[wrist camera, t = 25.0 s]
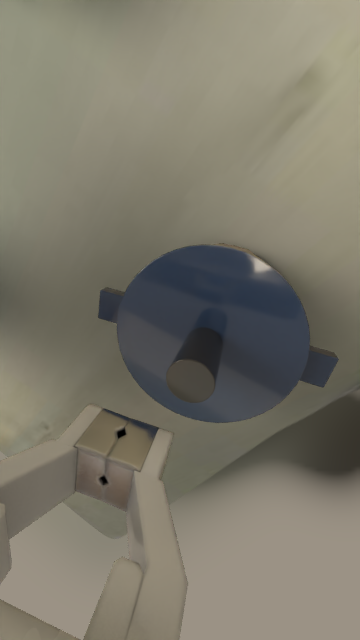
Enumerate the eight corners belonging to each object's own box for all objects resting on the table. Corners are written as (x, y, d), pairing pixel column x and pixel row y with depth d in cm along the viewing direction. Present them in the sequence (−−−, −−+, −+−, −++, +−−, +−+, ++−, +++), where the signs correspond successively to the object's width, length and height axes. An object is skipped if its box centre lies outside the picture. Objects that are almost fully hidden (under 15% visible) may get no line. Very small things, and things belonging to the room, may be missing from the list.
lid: (266, 434, 19) (273, 509, 14) (116, 381, 21) (74, 430, 16) (342, 272, 14) (394, 297, 9) (135, 223, 16) (83, 221, 11)
